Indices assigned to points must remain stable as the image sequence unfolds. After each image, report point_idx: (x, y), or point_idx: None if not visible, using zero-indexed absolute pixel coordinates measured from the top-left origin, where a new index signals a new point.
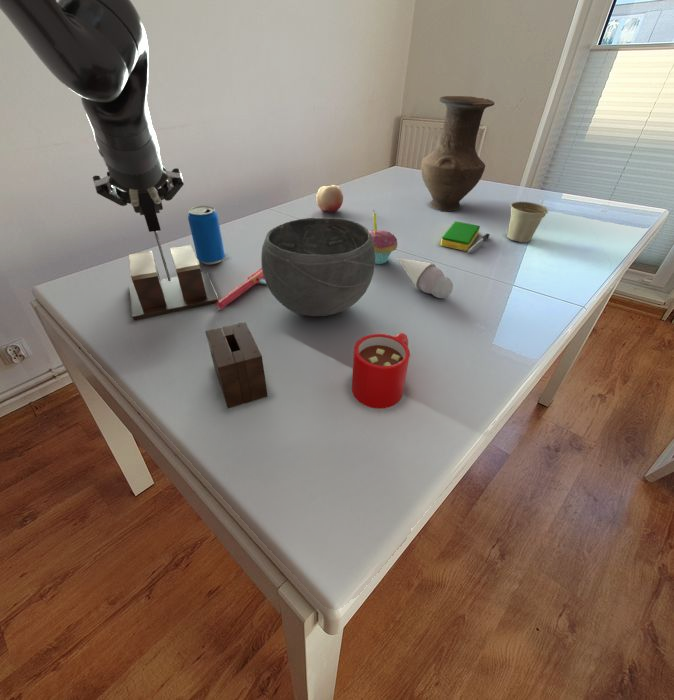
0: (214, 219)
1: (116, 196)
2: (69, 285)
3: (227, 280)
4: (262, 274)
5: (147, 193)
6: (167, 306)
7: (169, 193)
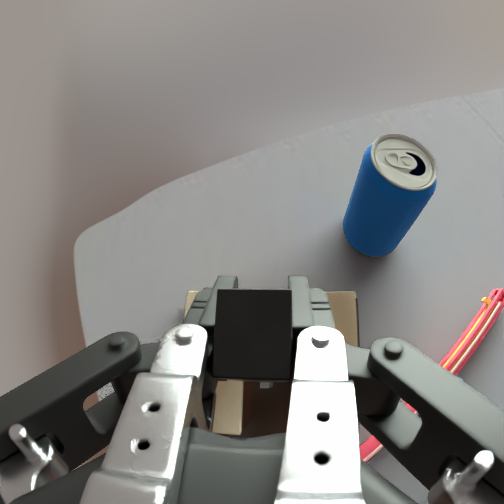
0: (428, 198)
1: (96, 448)
2: (106, 239)
3: None
4: (461, 366)
5: (272, 380)
6: (251, 426)
7: (397, 454)
